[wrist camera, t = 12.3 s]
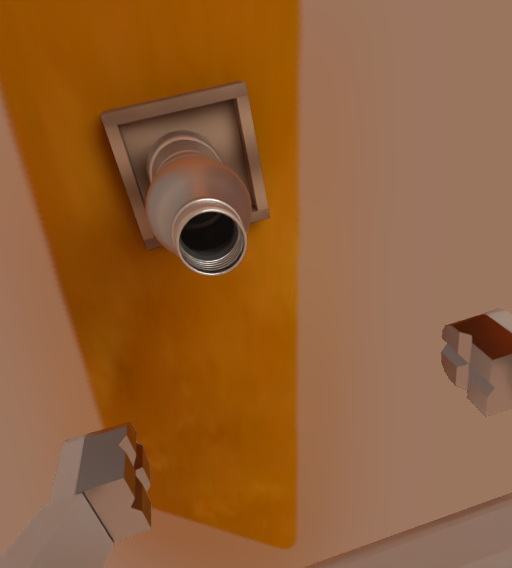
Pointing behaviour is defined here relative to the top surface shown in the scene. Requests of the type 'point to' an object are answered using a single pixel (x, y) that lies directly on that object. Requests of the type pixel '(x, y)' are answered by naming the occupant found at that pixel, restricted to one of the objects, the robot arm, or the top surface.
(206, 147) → the silver metal bottle
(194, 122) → the walnut tray
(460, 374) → the robot arm
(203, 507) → the top surface
